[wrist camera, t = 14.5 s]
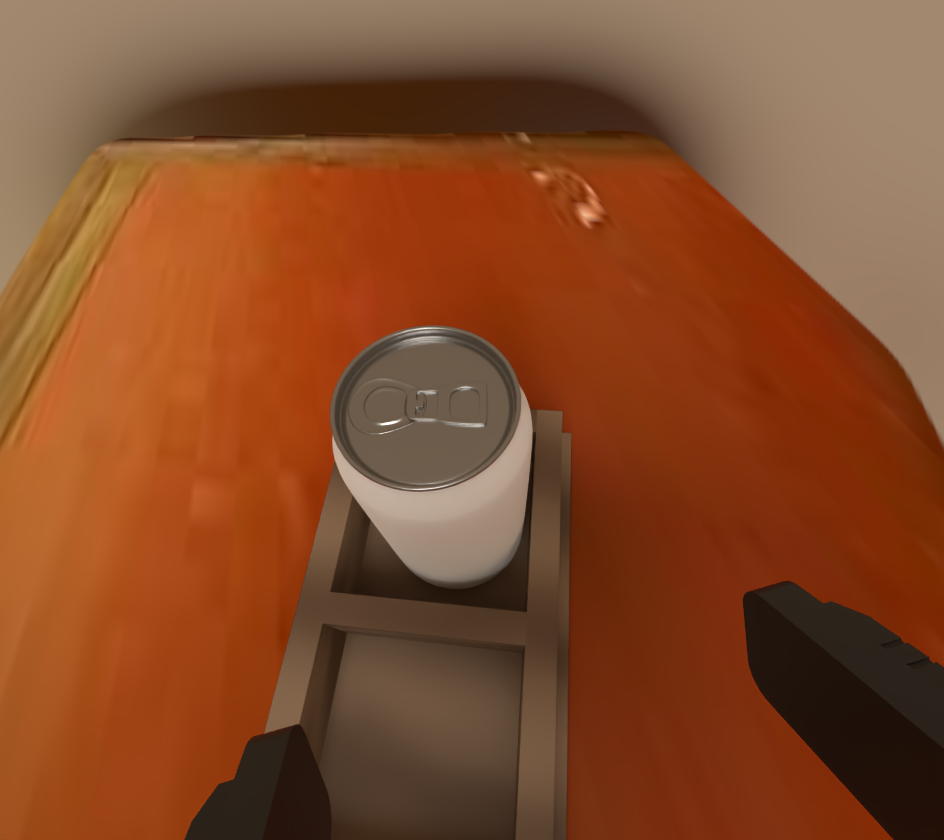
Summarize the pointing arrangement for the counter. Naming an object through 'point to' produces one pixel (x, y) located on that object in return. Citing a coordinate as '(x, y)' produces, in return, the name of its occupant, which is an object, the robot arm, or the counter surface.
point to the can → (436, 450)
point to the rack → (437, 675)
